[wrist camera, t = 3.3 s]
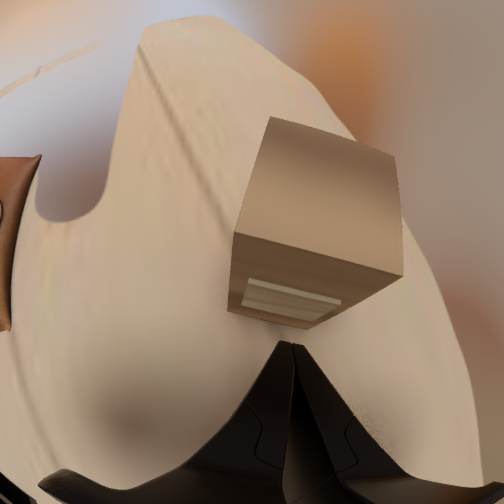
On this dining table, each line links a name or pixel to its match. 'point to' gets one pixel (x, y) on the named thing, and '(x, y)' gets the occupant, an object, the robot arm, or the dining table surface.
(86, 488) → the robot arm
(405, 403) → the dining table surface
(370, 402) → the dining table surface
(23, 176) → the sunglasses case
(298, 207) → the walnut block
